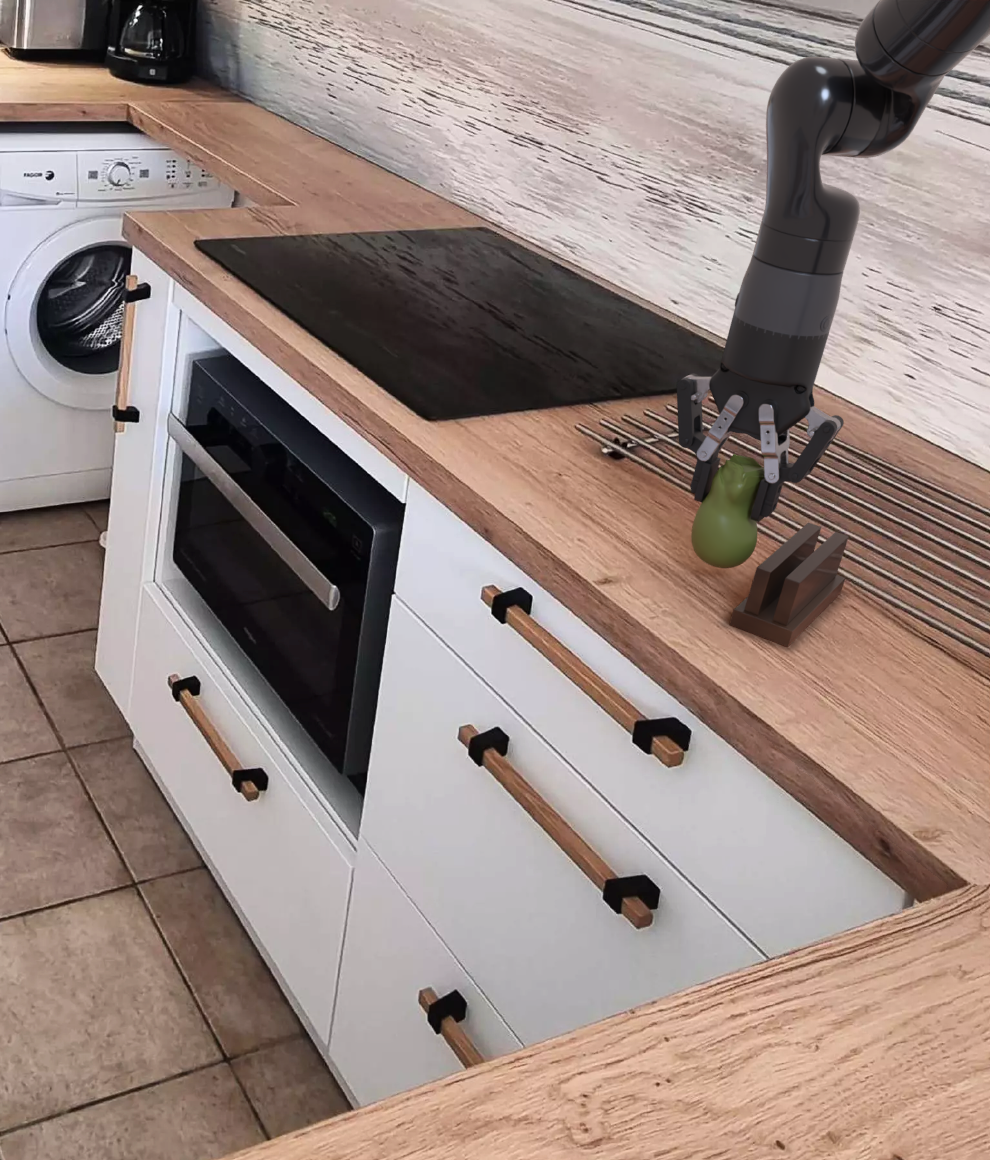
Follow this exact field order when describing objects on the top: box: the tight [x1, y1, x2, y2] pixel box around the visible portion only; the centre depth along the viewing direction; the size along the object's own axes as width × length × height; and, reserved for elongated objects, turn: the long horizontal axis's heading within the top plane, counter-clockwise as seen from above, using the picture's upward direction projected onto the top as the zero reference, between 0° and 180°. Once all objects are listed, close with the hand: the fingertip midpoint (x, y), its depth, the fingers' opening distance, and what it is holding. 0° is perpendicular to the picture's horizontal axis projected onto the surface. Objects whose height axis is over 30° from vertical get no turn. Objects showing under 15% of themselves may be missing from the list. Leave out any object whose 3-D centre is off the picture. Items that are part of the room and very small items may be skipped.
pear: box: [690, 453, 765, 569], centre depth 131 cm, size 6×5×10 cm
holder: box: [728, 522, 849, 648], centre depth 129 cm, size 5×14×6 cm, turn 143°
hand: (729, 507), depth 130 cm, fingers closed on pear, 4 cm apart
